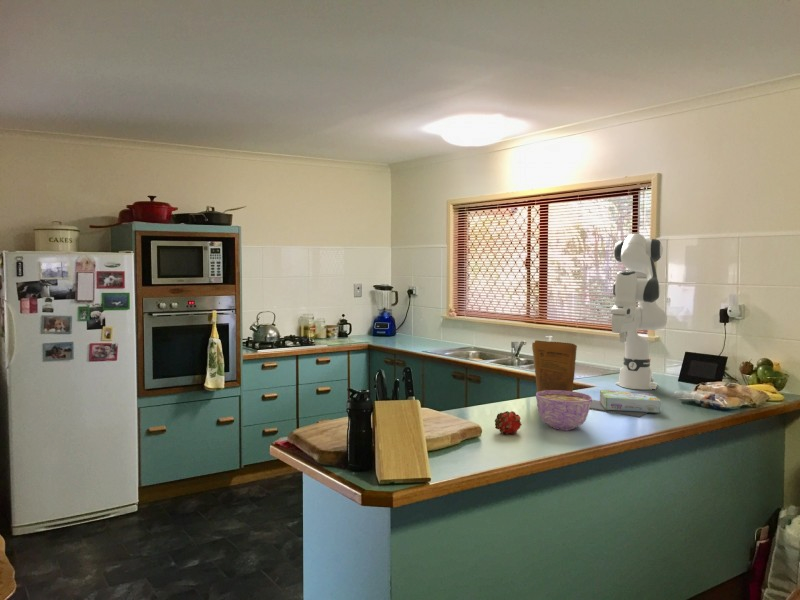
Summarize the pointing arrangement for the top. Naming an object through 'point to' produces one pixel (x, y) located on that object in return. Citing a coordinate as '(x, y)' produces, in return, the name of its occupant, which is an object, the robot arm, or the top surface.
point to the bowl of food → (563, 408)
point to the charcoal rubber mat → (598, 406)
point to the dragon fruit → (508, 422)
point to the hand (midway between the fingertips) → (623, 342)
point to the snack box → (629, 401)
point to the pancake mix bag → (554, 365)
